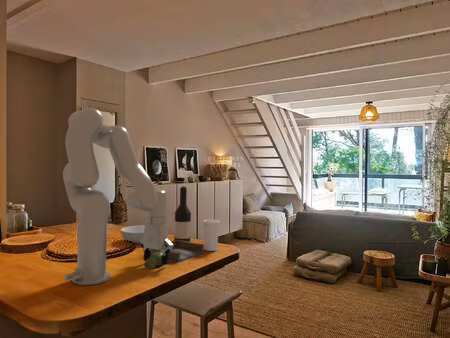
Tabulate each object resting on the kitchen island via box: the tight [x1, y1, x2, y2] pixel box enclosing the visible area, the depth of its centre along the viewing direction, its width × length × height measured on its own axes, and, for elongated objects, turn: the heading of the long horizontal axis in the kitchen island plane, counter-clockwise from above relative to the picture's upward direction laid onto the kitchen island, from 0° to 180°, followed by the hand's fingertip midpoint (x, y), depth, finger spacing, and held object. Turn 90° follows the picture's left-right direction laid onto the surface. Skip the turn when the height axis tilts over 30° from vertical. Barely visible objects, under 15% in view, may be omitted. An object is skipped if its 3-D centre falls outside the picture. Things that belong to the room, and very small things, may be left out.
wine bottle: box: [173, 186, 192, 242], centre depth 170 cm, size 8×8×30 cm
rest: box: [149, 240, 205, 263], centre depth 153 cm, size 19×16×4 cm
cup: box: [202, 219, 221, 252], centre depth 163 cm, size 8×8×14 cm
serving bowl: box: [120, 224, 146, 244], centre depth 176 cm, size 21×21×7 cm
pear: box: [143, 252, 163, 270], centre depth 135 cm, size 6×5×10 cm
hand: (155, 262), depth 136 cm, fingers open, 9 cm apart
